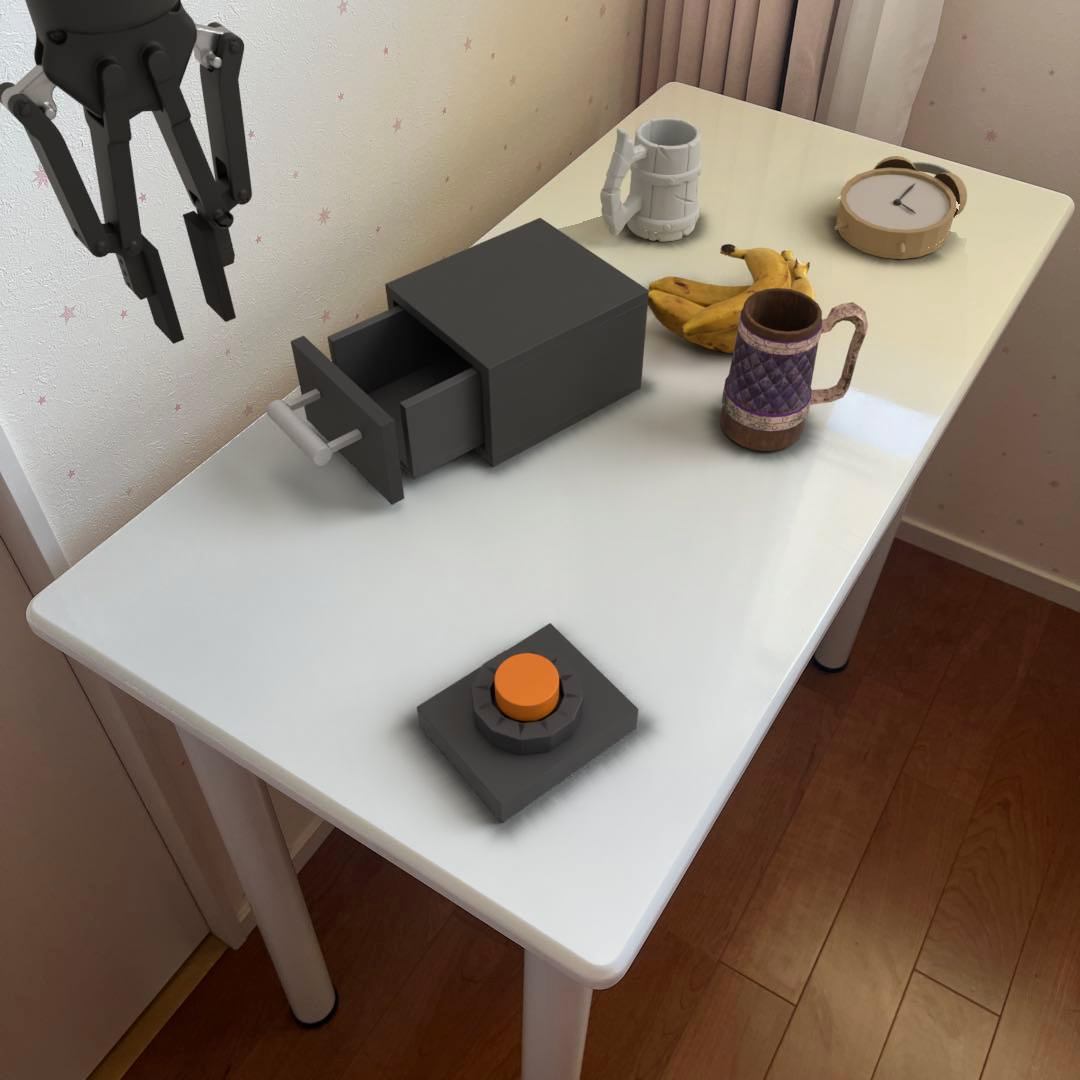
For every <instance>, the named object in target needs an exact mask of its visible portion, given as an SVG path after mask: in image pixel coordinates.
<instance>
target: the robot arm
mask: <svg viewBox="0 0 1080 1080" xmlns="http://www.w3.org/2000/svg"><path fill="white" fill-rule="evenodd" d="M24 1H25V4H26V8H27V10H28V12H29V17H30V19H31V22H32V25H33V27H34V31H35V46H34V49H33V50H34V51H33V59H34V62H35V66H33V68H32V69H30V71H28V72H27V73H26V74H25V75H24V76H23V77H21V79H20V80H19V81H17V82H16V83H13V82H10V81H5V82H2V83H0V104H1V105H2V106H3V107H4V108H5V109H6V110H7V111H9V113H10V114H11V115H12V116H13V117H14V118H15V119H16V120H17V121H18V122H19V123H20V124H21V125H22V126H23V129H24V131H25V132H26V135H27V137H28V139H29V141H30V143H31V145H32V148H33V149H34V151H35V153H36V156H37V158H38V160H39V163H40V164H41V166H42V169H43V171H44V173H45V175H46V177H47V179H48V181H49V184H50V185H51V188H52V190H53V192H54V194H55V197H56V198H57V201H58V203H59V205H60V207H61V209H62V212H63V213H64V215H65V218H66V220H67V223H68V224H69V226H70V228H71V230H72V232H73V234H74V236H75V238H77V239H78V241H79V242H80V243H81V244H82V245H83V246H84V247H85V248H86V249H87V250H88V251H89V252H90V253H91V255H92V256H94V257H96V258H104V257H107V256H108V255H109V254H115V256H116V259H117V263H118V265H119V268H120V271H121V274H122V277H123V281H124V284H125V285H126V286H127V287H128V289H130V290H131V291H132V293H133V294H134V295H135V296H136V298H138V299H139V300H140V301H142V300H145V299H146V300H147V301H146V302H147V304H148V307H149V310H150V313H151V316H152V320H153V323H154V325H155V326H156V327H157V328H158V329H159V330H160V331H161V332H162V334H164V336H165V337H166V338H167V339H168V340H169V341H170V343H172V344H173V345H174V344H177V343H179V342H182V341H185V337H184V333H183V329H182V326H181V323H180V319H179V316H178V313H177V310H176V309H177V308H176V306H175V303H174V299H173V296H172V292H171V290H170V287H169V283H168V279H167V276H166V272H165V268H164V266H163V262H162V258H161V255H160V252H159V249H158V248H156V246H155V245H154V244H153V243H152V242H151V241H150V240H149V239H148V238H146V237H145V236H144V235H143V233H142V227H141V221H140V211H139V205H138V197H137V191H136V190H137V189H136V184H135V176H134V175H135V174H134V168H133V161H132V154H131V147H130V141H132V138H133V137H132V128H131V122H130V121H131V120H132V119H133V118H135V117H136V116H138V115H140V114H141V113H143V112H151V114H152V115H153V117H154V120H155V122H156V124H157V126H158V129H159V131H160V133H161V136H162V138H163V140H164V143H165V144H166V147H167V149H168V151H169V154H170V156H171V158H172V160H173V163H174V165H175V168H176V170H177V173H178V174H179V177H180V179H181V181H182V184H183V186H184V188H185V190H186V193H187V195H188V197H189V200H190V202H191V204H192V205H193V207H194V208H195V210H196V211H195V210H192V211H189V212H186V213H183V214H182V217H183V221H184V225H185V229H186V232H187V236H188V239H189V244H190V248H191V251H192V255H193V259H194V262H195V266H196V269H197V274H198V277H199V280H200V281H199V282H200V284H201V288H202V292H203V296H204V299H205V302H206V305H208V306H209V308H211V309H212V310H213V312H215V313H216V315H218V316H219V317H220V318H221V319H222V320H223V321H224V322H225V323H227V322H230V321H233V320H235V319H236V318H237V316H236V312H235V307H234V304H233V303H234V302H233V300H232V295H231V291H230V287H229V283H228V279H227V275H226V271H225V267H229V266H230V265H233V264H235V259H236V254H235V249H234V245H233V241H232V237H231V233H230V227H232V226H233V224H234V221H235V218H234V214H232V213H231V211H232V210H233V209H234V208H236V207H237V205H240V206H242V205H243V206H244V205H246V204H248V203H249V202H250V201H252V200H251V199H252V198H253V190H252V189H253V188H252V182H251V181H252V180H251V173H250V166H249V158H248V157H249V156H248V149H247V148H248V147H247V139H246V132H245V122H244V116H243V115H244V114H243V107H242V99H241V90H240V81H239V78H240V74H241V73H240V72H241V68H242V64H243V63H242V62H243V57H244V52H245V43H244V40H243V39H242V37H240V36H238V34H236V33H234V32H233V31H231V30H230V29H228V28H227V27H225V26H224V25H222V24H221V23H219V22H217V21H212V22H210V23H208V24H207V25H204V24H199V23H196V22H195V21H194V19H193V18H192V17H191V15H190V14H189V13H188V12H187V11H186V9H185V7H184V5H183V3H182V0H24ZM192 53H193V54H194V59H195V60H196V61H197V62H198V63H199V77H200V85H201V91H202V97H203V105H204V112H205V119H206V125H207V132H208V140H209V146H210V153H211V161H212V168H213V171H212V170H211V167H210V164H209V162H208V159H207V157H206V155H205V152H204V150H203V146H202V145H201V142H200V139H199V138H198V135H197V133H196V130H195V128H194V126H193V123H192V120H191V118H192V114H191V112H190V109H189V107H188V104H187V102H186V99H185V97H184V94H183V92H182V89H181V85H182V83H183V80H184V77H185V73H186V71H187V68H188V65H189V63H190V60H191V56H192ZM55 88H58V89H59V90H61V91H63V93H65V94H66V95H68V96H69V97H70V98H72V99H73V100H74V101H75V102H77V103H78V104H80V105H81V106H82V109H83V110H82V111H83V115H84V120H85V122H86V124H87V126H88V129H89V134H90V139H91V146H92V150H93V151H92V152H93V153H92V154H93V159H94V165H95V171H96V177H97V184H98V191H99V197H100V202H101V208H102V215H103V222H104V223H103V222H102V221H101V219H100V216H99V215H98V212H97V211H96V208H95V206H94V203H93V201H92V198H91V196H90V194H89V191H88V190H87V187H86V185H85V183H84V180H83V179H82V176H81V174H80V172H79V170H78V167H77V164H76V162H75V160H74V158H73V155H72V154H71V152H70V149H69V147H68V144H67V143H66V140H65V138H64V136H63V134H62V132H61V131H60V130H59V128H58V127H57V125H56V124H55V123H54V122H53V121H52V120H55V118H56V117H57V113H58V108H57V107H58V106H57V104H56V102H55V100H54V98H53V93H54V90H55Z"/></svg>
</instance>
